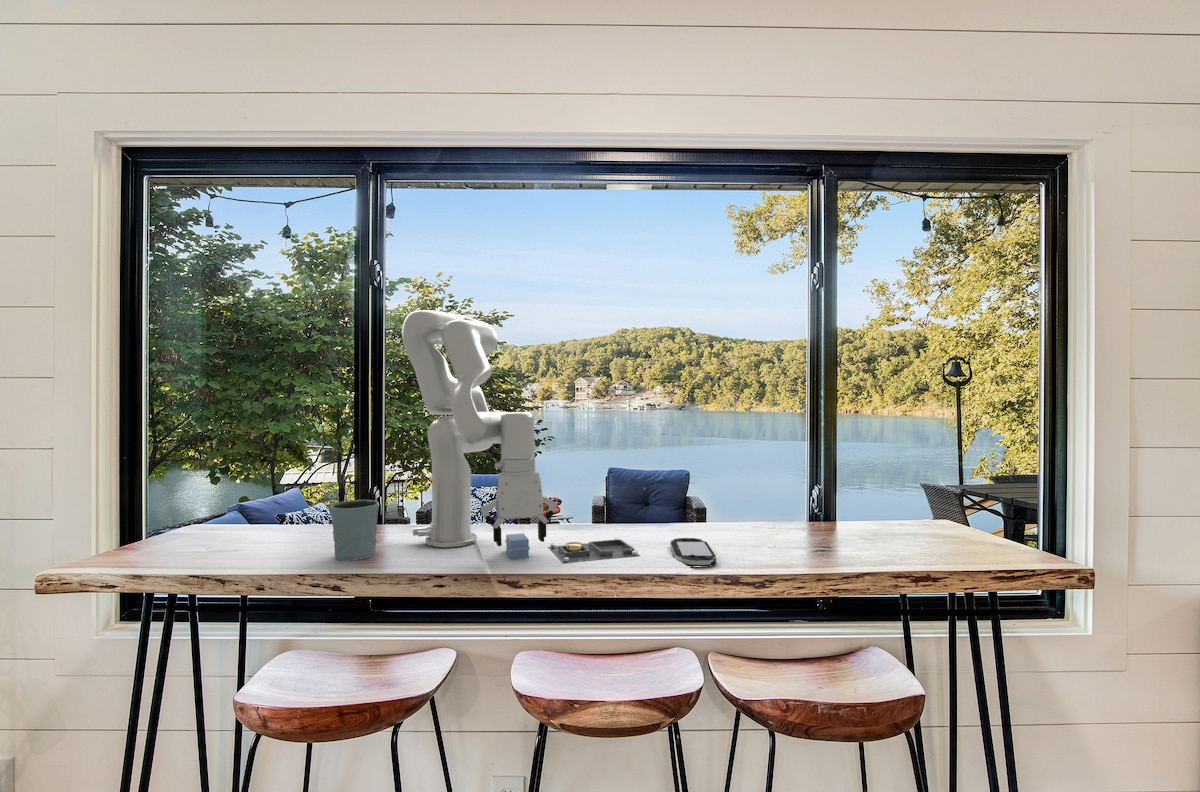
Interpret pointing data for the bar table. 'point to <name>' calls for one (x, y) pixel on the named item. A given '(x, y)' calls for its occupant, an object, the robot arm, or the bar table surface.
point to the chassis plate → (595, 551)
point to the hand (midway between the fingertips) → (520, 542)
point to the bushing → (573, 546)
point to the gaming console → (692, 552)
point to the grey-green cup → (354, 528)
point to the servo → (517, 545)
